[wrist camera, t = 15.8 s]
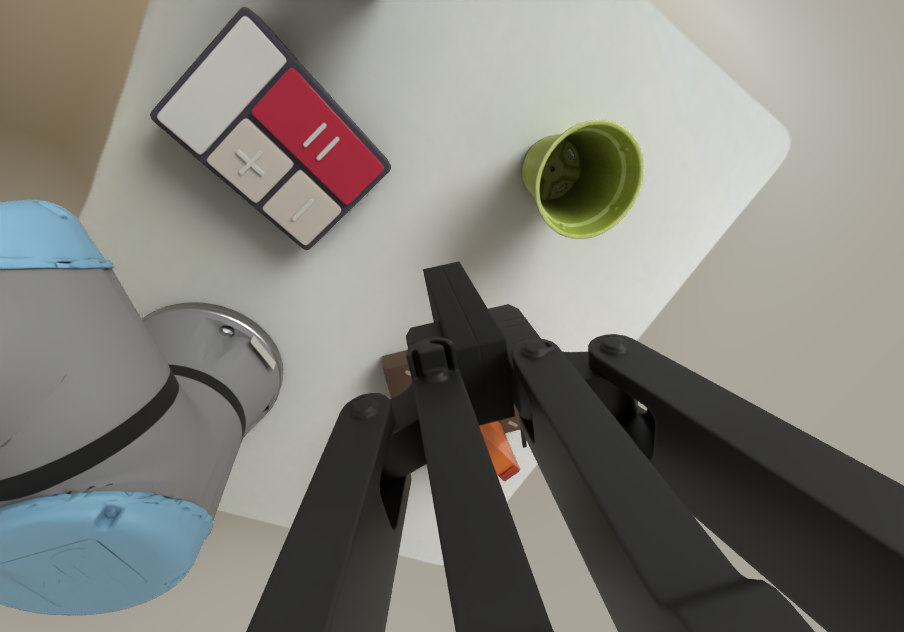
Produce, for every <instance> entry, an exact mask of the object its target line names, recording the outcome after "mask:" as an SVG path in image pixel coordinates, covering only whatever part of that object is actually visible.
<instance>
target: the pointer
mask: <svg viewBox="0 0 904 632" xmlns="http://www.w3.org/2000/svg"><path fill="white" fill-rule="evenodd" d="M480 429H481V432H482V435H483V437H484V440H485V443H486V446H487V449H488V451H489V454H490V457H491V460H492V463H493V465H494V468H495V471H496V474H497V475H498V476H499V477H500V478H501V479H502V480H503V481H506V480H508V479H509V478H511V477H512V476H513V475H515V474H516V473H518V472H519V470H520V468H519V466H518V463H517V461H516V459H515V456H514V454H513V451H512V449H511V447H510V444H509V442H508V440H507V437H506V435H505V433H504V430H503V428H502V426H501V424H500V423H499V422H498V421H496V422H492V423H488V424H484V425H480Z"/></svg>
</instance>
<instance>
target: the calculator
mask: <svg viewBox="0 0 904 632" xmlns="http://www.w3.org/2000/svg"><path fill="white" fill-rule="evenodd" d="M150 116H151V119H152V120H153V121H154V122H155V123H156V124H157V125H158V126H160V127H161V128H162V129H163V130H164V131H165V132H167V133H168V134H169V135H170V136H171V137H172V138H174V139H175V140H176V141H177V142H178V143H180V144H181V145H182V146H183V147H184V148H185V149H187V150H188V151H189V152H190V153H191V154H192V155H194V156H195V157H196V158H197V159H198V160H199V161H201V162H202V163H203V164H204V165H205V166H207V167H208V168H209V169H210V170H211V171H212V172H214V173H215V174H216V175H217V176H218V177H219V178H221V179H222V180H223V181H224V182H225V183H226V184H228V185H229V186H230V187H231V188H232V189H233V190H235V191H236V192H237V193H238V194H239V195H241V196H242V197H243V198H244V199H245V200H246V201H248V202H249V203H250V204H251V205H252V206H253V207H255V208H256V209H257V210H258V211H259V212H260V213H262V214H263V215H264V216H265V217H266V218H267V219H269V220H270V221H271V222H272V223H273V224H275V225H276V226H277V227H278V228H279V229H280V230H282V231H283V232H284V233H285V234H286V235H287V236H289V237H290V238H291V239H292V240H293V241H294V242H296V243H297V244H298V245H299V246H300V247H302V248H303V249H305V250H309V249H310V248H311V247H312V246H314V245H315V244H316V243H317V242H318V241H319V240H320V239H321V238H322V237H323V236H324V235H325V234H326V233H327V232H328V231H329V230H330V229H331V228H332V227H333V226H334V225H335V224H336V223H337V222H338V221H339V220H340V219H341V218H342V217H343V216H344V215H345V214H346V213H347V212H348V211H349V210H350V209H351V208H352V207H353V206H355V205H356V204H357V203H358V202H359V201H360V200H361V199H362V198H363V197H364V196H365V195H366V194H367V193H368V192H369V191H370V190H371V189H372V188H373V187H374V186H375V185H376V184H377V183H378V182H379V181H380V180H381V179H382V178H383V177H384V176H385V175H386V174H387V173H388V172H389V171H390V170H391V165H390V163H389V161H388V160H387V158H386V157H385V156H384V155H383V154H382V153H381V152H380V151H379V149H378V148H377V147H376V146H375V145H374V144H373V143H372V142H371V141H370V139H369V138H368V137H367V136H366V135H365V134H364V133H363V132H362V131H361V130H360V128H359V127H358V126H357V125H356V124H355V123H354V122H353V121H352V120H351V118H350V117H349V116H348V115H347V114H346V113H345V112H344V111H343V110H342V108H341V107H340V106H339V105H338V104H337V103H336V102H335V101H334V100H333V99H332V97H331V96H330V95H329V94H328V93H327V92H326V91H325V90H324V89H323V87H322V86H321V85H320V84H319V83H318V82H317V81H316V80H315V79H314V77H313V76H312V75H311V74H310V73H309V72H308V71H307V70H306V69H305V68H304V66H303V65H302V64H301V63H300V62H299V61H298V60H297V58H296V57H295V56H294V55H293V54H292V53H291V52H290V51H289V49H288V48H287V47H286V46H285V45H284V44H283V43H282V42H281V41H280V39H279V38H278V37H277V36H276V35H275V34H274V33H273V32H272V31H271V29H270V28H269V27H268V26H267V25H266V24H265V23H264V22H263V21H262V20H261V18H260V17H259V16H258V15H256V14H255V13H254V12H253V11H251V10H250V9H249V8H246V7H243V8H241V9H240V10H239V11H238V12H237V13H236V14H235V16H234V17H233V18H232V19H231V20H230V21H229V22H228V24H227V25H226V26H225V27H224V28H223V29H222V31H221V32H220V33H219V34H218V35H217V36H216V37H215V39H214V40H213V41H212V42H211V43H210V44H209V46H208V47H207V48H206V49H205V50H204V51H203V53H202V54H201V55H200V56H199V57H198V58H197V59H196V61H195V62H194V63H193V64H192V65H191V66H190V68H189V69H188V70H187V71H186V72H185V73H184V74H183V76H182V77H181V78H180V79H179V80H178V81H177V83H176V84H175V85H174V86H173V87H172V88H171V89H170V91H169V92H168V93H167V94H166V95H165V96H164V98H163V99H162V100H161V101H160V102H159V103H158V104H157V106H156V107H155V108H154V109H153V110H152V112H151V114H150Z"/></svg>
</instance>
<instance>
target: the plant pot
mask: <svg viewBox="0 0 904 632" xmlns="http://www.w3.org/2000/svg"><path fill="white" fill-rule="evenodd" d="M567 149H571V151H572V153H573V154H574V160H573V161H572V159H571V156H570V154H569V152H568V151H567ZM550 167H554V168H555V170H554V171H553V172H551V171H550ZM643 176H644V160H643V155H642V152H641V149H640V146H639V144H638V142H637V140H636V139H635V137H634V136H633V135H632V134H631V133H630V132H629V131H628V130H627V129H626V128H624V127H623V126H621V125H619V124H617V123H614V122H611V121H606V120H591V121H586V122H582V123H580V124H577V125H575V126H573V127H571V128H570V129H568V130H566V131H565V132H564V133H562V134H560V135H554V136H549V137H546V138H543V139H541V140H540V141H538V142H537V143H535V144H534V145H533V146H532V147H531V148H530V150H529V151H528V153H527V154H526V157H525V160H524V164H523V168H522V179H523V183H524V185H525V187H526V189H527V190H528V192H529V193H530V194H531V195H532V196H533V198H534V199H535V200H536V204H537V207H538V210H539V212H540V214H541V216H542V218H543V219H544V221H545V222H546V223H547V225H548V226H549V227H550V228H551V229H553V230H554V231H555V232H557V233H558V234H560V235H563V236H565V237H569V238H574V239H587V238H591V237H595V236H598V235H600V234H603V233H605V232H606V231H608V230H610V229H611V228H613V227H614V226H615V225H616V224H618V223H619V222H620V221H621V220H622V219H623V218H624V217H625V216H626V215H627V213H628V212H629V210H630V209H631V208H632V206H633V204H634V203H635V201H636V199H637V197H638V194H639V192H640V190H641V186H642V182H643ZM564 184H567V186H566V188H565V189H564V190H562V191H560V192H558V193H555V191H556V190H557V189H559V188H561V187H562V186H563V185H564Z"/></svg>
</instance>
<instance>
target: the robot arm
mask: <svg viewBox="0 0 904 632" xmlns="http://www.w3.org/2000/svg"><path fill="white" fill-rule="evenodd" d="M112 268H114V266H113V264H112V263H111V262H110V261H109V260H107V259H105V258H104V257H103V255H102V254H101V253H100V251H99V250H98V248H97V247H96V245H95V244H94V242H93V241H92V239H91V238H90V236H89V235H88V233H87V232H86V230H85V229H84V227H83V226H82V224H81V223H80V221H79V220H78V219H77V218H76V217H75V216H74V215H73V214H72V213H71V212H69V211H68V210H66V209H64V208H63V207H61V206H59V205H57V204H53V203H51V202H47V201H42V200H20V201H10V202H9V201H8V202H0V604H2V605H4V606H7V607H11V608H15V609H19V610H23V611H28V612H33V613H40V614H50V615H92V614H102V613H109V612H114V611H119V610H123V609H127V608H130V607H134V606H137V605H140V604H143V603H146V602H148V601H150V600H153V599H155V598H157V597H158V596H160V595H162V594H163V593H165V592H167V591H169V590H170V589H171V588H173V587H174V586H175V585H177V583H179V582H180V581H181V580H182V579H183V578H184V577H185V575H186V574H187V573H188V572H189V570H190V569H191V567H192V566H193V564H194V562H195V560H196V558H197V556H198V553H199V551H200V549H201V546H202V544H203V542H204V540H205V539H206V537H207V536H208V535H209V534H210V533H211V531H212V528H213V520H214V516H215V514H216V511H217V508H218V506H219V503H220V500H221V497H222V494H223V492H224V489H225V486H226V483H227V480H228V478H229V475H230V472H231V469H232V466H233V463H234V461H235V458H236V455H237V453H238V450H239V447H240V444H241V442H242V439H243V437H244V436H245V435H246V434H247V433H248V432H249V431H250V430H251V429H252V428H253V427H254V426H255V425H256V424H257V423H258V422H259V421H260V420H261V419H262V418H263V417H264V416H265V415H266V414H267V413H268V412H269V411H270V409H271V408H272V407H273V405H274V403H275V402H276V399H277V397H278V394H279V391H280V387H281V384H282V379H283V364H282V360H281V356H280V353H279V351H278V349H277V347H276V345H275V343H274V342H273V340H272V339H271V338H270V336H269V335H268V334H267V333H266V332H265V331H264V330H263V329H262V328H261V327H260V326H259V325H258V324H256V323H255V322H254V321H252V320H251V319H249V318H247V317H246V316H244V315H242V314H240V313H238V312H236V311H233V310H231V309H228V308H225V307H222V306H217V305H213V304H207V303H181V304H175V305H171V306H167V307H164V308H161V309H158V310H156V311H154V312H152V313H150V314H149V315H147V316H146V317H144V318H143V319H141V318H140V316H139V314H138V313H137V311H136V309H135V307H134V306H133V304H132V302H131V301H130V299H129V297H128V295H127V294H126V292H125V290H124V289H123V287H122V285H121V283H120V282H119V280H118V278H117V277H116V275H115V273H114V271H113V270H112ZM423 272H424V277H425V282H426V286H427V291H428V296H429V301H430V306H431V310H432V315H433V320H434V323H429V324H425V325H421V326H416V327H412V328H410V330H409V332H408V333H407V335H406V340H407V345H408V350H407V354H406V358H407V362H408V366H409V370H410V374H411V378H412V383H411V385H410V386H409V387H408V389H407V390H405V391H404V392H403V393H402V394H400V395H398V396H396V397H394V398H392V399H390V400H389V399H388V398H387V396H385V395H382V394H380V393H369V394H365V395H361V396H359V397H356V398H354V399H352V400H351V401H350V402H348V403H347V404H346V405H345V406H344V407H343V409H342V410H341V412H340V414H339V417H338V419H337V421H336V424H335V426H334V428H333V431H332V433H331V435H330V438H329V440H328V442H327V445H326V447H325V449H324V452H323V454H322V456H321V459H320V461H319V463H318V466H317V468H316V470H315V473H314V475H313V477H312V480H311V482H310V484H309V487H308V489H307V491H306V494H305V496H304V498H303V501H302V503H301V505H300V508H299V510H298V512H297V515H296V517H295V519H294V522H293V524H292V526H291V529H290V531H289V533H288V536H287V538H286V540H285V543H284V545H283V547H282V550H281V552H280V554H279V557H278V559H277V561H276V564H275V566H274V569H273V571H272V573H271V575H270V578H269V580H268V582H267V585H266V587H265V589H264V592H263V594H262V596H261V599H260V601H259V603H258V606H257V608H256V610H255V613H254V615H253V617H252V620H251V622H250V624H249V627H248V629H247V631H246V632H385V627H386V622H387V616H388V611H389V605H390V599H391V593H392V587H393V582H394V576H395V570H396V565H397V559H398V553H399V547H400V542H401V536H402V530H403V524H404V519H405V513H406V507H407V501H408V496H409V490H410V484H411V472H413V471H415V470H417V469H419V468H420V467H422V466H424V465H426V464H427V468H428V474H429V480H430V486H431V491H432V497H433V503H434V509H435V515H436V520H437V526H438V532H439V538H440V543H441V549H442V555H443V561H444V566H445V572H446V578H447V584H448V589H449V595H450V601H451V607H452V613H453V618H454V624H455V630H456V632H554V631H553V629H552V626H551V624H550V621H549V618H548V615H547V613H546V610H545V607H544V604H543V601H542V599H541V596H540V593H539V591H538V588H537V585H536V582H535V579H534V576H533V574H532V571H531V568H530V565H529V563H528V560H527V557H526V554H525V552H524V549H523V546H522V543H521V540H520V538H519V535H518V532H517V529H516V527H515V524H514V521H513V518H512V515H511V513H510V510H509V507H508V504H507V501H506V499H505V496H504V493H503V490H502V488H501V485H500V482H499V479H498V476H497V474H496V471H495V468H494V465H493V463H492V460H491V457H490V454H489V451H488V449H487V446H486V443H485V440H484V437H483V435H482V432H481V429H480V425H484V424H488V423H492V422H496V421H500V420H504V419H508V418H512V417H515V410H514V405H515V407H516V409H517V411H518V413H519V421H520V429H521V438H522V445H523V448H524V447H527V445H526V440H527V442H528V444H529V446H530V448H531V451H532V453H533V455H534V457H535V459H536V461H537V463H538V465H539V467H540V469H541V471H542V473H543V475H544V478H545V480H546V482H547V484H548V486H549V488H550V490H551V492H552V494H553V497H554V499H555V501H556V503H557V505H558V507H559V509H560V511H561V513H562V515H563V517H564V520H565V521H566V523H567V526H568V528H569V530H570V532H571V534H572V536H573V538H574V541H575V543H576V545H577V547H578V549H579V551H580V553H581V555H582V557H583V559H584V561H585V563H586V566H587V568H588V570H589V572H590V574H591V576H592V578H593V580H594V582H595V584H596V587H597V589H598V590H599V593H600V595H601V597H602V599H603V601H604V603H605V605H606V607H607V610H608V612H609V614H610V616H611V618H612V620H613V622H614V624H615V626H616V628H617V631H618V632H814V630H813V629H812V628H811V627H810V626H809V624H808V623H807V622H806V621H805V620H804V619H803V617H802V616H801V615H800V614H799V613H798V612H797V611H796V609H795V608H794V607H793V606H792V605H791V603H790V602H789V601H788V600H787V599H786V598H785V597H783V595H782V594H781V593H780V592H779V591H778V590H777V589H776V588H778V589H779V590H780V591H781V592H782V593H783V594H784V595H786V596H787V597H788V598H789V599H790V600H791V601H793V602H794V603H795V604H796V605H797V606H798V607H800V608H801V609H802V610H803V611H804V612H805V613H806V614H808V615H809V616H810V617H811V618H812V619H814V620H815V621H816V622H817V623H818V624H819V625H820V626H821V627H823V628H824V629H825V630H826V631H827V632H904V486H903V485H901V484H900V483H898V482H896V481H894V480H892V479H890V478H888V477H887V476H885V475H883V474H881V473H879V472H878V471H876V470H874V469H872V468H870V467H868V466H866V465H865V464H863V463H861V462H859V461H857V460H855V459H854V458H852V457H850V456H848V455H846V454H844V453H843V452H841V451H839V450H837V449H835V448H833V447H831V446H830V445H828V444H826V443H824V442H822V441H820V440H819V439H817V438H815V437H813V436H811V435H809V434H807V433H805V432H804V431H802V430H800V429H798V428H796V427H794V426H793V425H791V424H789V423H787V422H785V421H783V420H781V419H780V418H778V417H776V416H774V415H772V414H771V413H768V412H767V411H765V410H763V409H761V408H760V407H758V406H756V405H754V404H752V403H750V402H748V401H747V400H745V399H743V398H741V397H739V396H737V395H736V394H734V393H732V392H730V391H728V390H726V389H724V388H723V387H721V386H719V385H717V384H715V383H713V382H712V381H710V380H708V379H706V378H704V377H702V376H700V375H699V374H696V373H695V372H693V371H691V370H689V369H688V368H686V367H684V366H682V365H680V364H678V363H676V362H675V361H673V360H671V359H669V358H667V357H665V356H664V355H661V354H660V353H658V352H656V351H654V350H653V349H650V348H649V347H647V346H645V345H643V344H641V343H640V342H638V341H636V340H634V339H632V338H629V337H627V336H623V335H617V334H611V335H610V334H608V335H603V336H599V337H596V338H595V339H593V340H592V341H591V342H590V343H589V345H588V352H562V351H561V350H560V348H559V347H558V346H557V345H556V344H554V343H553V342H551V341H548V340H545V339H541V338H540V337H539V335H538V334H537V333H536V331H535V330H534V329H533V327H532V326H531V325H530V323H528V321H527V319H526V318H525V317H524V316H523V314H522V313H521V312H520V310H519V309H517V308H515V307H513V306H511V305H509V304H507V305H503V306H499V307H494V308H490V309H488V308H487V307H486V305H485V303H484V302H483V300H482V299H481V297H480V295H479V294H478V292H477V290H476V289H475V287H474V285H473V284H472V282H471V280H470V279H469V277H468V275H467V274H466V272H465V270H464V269H463V267H462V265H461V264H460V262H455V263H450V264H445V265H441V266H436V267H432V268H427V269H423ZM638 401H639V402H640V403H641V404H643V405H644V406H645V407H647V411H646V410H644V409H642V408H641V407H639V406H638ZM693 516H694V517H696V518H697V519H698V520H699V521H700V522H701V523H703V524H704V525H705V526H706V527H707V528H708V529H709V530H711V531H712V532H713V533H714V534H715V535H716V536H717V537H719V538H720V539H721V540H722V541H723V542H725V543H726V544H727V545H728V546H729V547H730V548H732V549H733V550H734V551H735V552H736V553H737V554H738V555H739V556H741V557H742V558H743V559H744V560H745V561H746V562H748V563H749V564H750V565H751V566H752V567H753V568H754V569H756V570H757V571H758V572H759V573H760V574H761V575H763V576H764V577H765V578H766V579H767V580H768V581H770V582H771V583H772V584H773V585H774V586H775V587H776V588H774V587H773V586H771V585H769V584H768V583H766V582H765V581H763V580H756V579H747V578H746V577H744V576H743V575H741V574H740V573H739V572H738V571H737V570H736V569H735V568H734V567H733V566H732V564H731V563H730V562H729V561H728V559H727V558H726V557H725V555H724V554H723V553H722V552H721V550H720V549H719V548H718V547H717V545H716V544H715V543H714V542H713V541H712V539H711V538H710V537H709V535H708V534H707V533H706V532H705V530H704V529H703V528H702V527H701V525H700V524H699V523H698V522H697V520H696V519H695V518H694V517H693Z"/></svg>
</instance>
